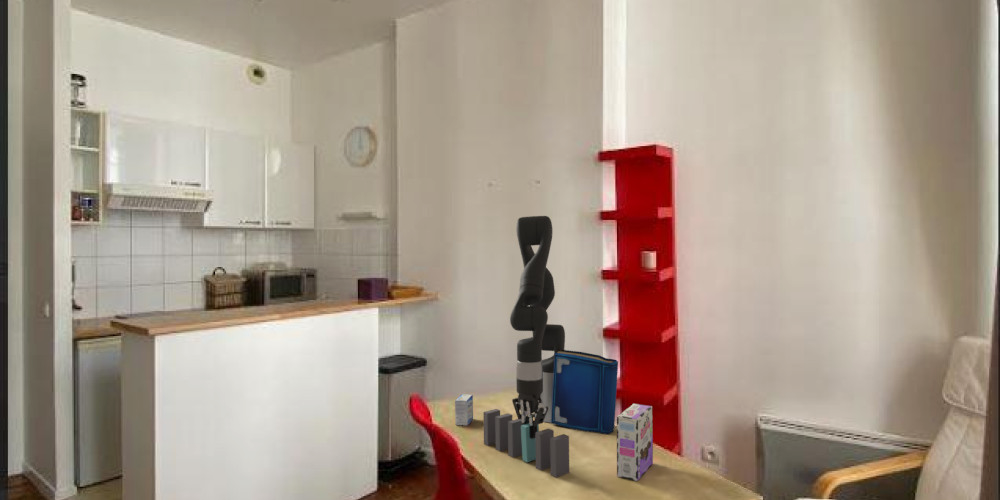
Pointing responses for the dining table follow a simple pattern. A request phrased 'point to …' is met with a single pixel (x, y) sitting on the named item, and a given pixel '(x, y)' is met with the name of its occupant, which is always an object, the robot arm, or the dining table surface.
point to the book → (584, 391)
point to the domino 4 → (528, 443)
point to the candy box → (634, 441)
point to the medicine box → (464, 410)
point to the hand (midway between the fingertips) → (530, 436)
